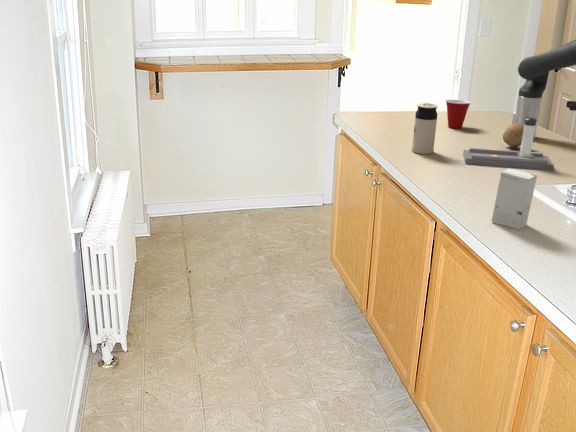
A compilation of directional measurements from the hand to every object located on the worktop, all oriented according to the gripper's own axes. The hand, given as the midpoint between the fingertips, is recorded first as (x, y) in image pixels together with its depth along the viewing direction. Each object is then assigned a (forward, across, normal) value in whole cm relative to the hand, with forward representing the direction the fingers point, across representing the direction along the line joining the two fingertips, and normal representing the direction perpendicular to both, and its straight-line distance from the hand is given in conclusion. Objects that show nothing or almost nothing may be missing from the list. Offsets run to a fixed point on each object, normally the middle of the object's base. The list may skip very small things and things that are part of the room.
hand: (568, 105), depth 230 cm
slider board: (+18, 0, +22) cm, 28 cm away
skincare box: (+25, +63, +22) cm, 72 cm away
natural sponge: (+12, -22, +22) cm, 33 cm away
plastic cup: (+33, -51, +22) cm, 65 cm away
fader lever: (+12, 0, +20) cm, 23 cm away
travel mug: (+48, -6, +22) cm, 53 cm away
